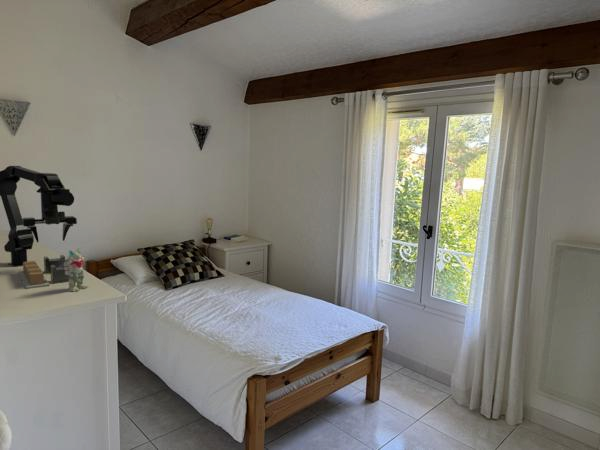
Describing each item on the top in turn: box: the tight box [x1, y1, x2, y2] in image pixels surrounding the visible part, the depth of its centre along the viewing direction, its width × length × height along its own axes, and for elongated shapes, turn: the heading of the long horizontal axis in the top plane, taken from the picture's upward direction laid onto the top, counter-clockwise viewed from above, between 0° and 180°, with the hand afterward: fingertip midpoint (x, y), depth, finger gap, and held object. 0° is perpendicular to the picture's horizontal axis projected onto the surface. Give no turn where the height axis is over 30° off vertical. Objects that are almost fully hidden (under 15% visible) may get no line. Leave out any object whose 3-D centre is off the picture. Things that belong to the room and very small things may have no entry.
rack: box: [43, 254, 70, 284], centre depth 160 cm, size 20×7×6 cm, turn 40°
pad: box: [18, 270, 50, 290], centre depth 155 cm, size 25×7×1 cm, turn 40°
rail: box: [22, 260, 45, 285], centre depth 155 cm, size 22×4×4 cm, turn 40°
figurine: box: [62, 247, 89, 293], centre depth 145 cm, size 8×8×15 cm
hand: (50, 241), depth 167 cm, fingers open, 9 cm apart
